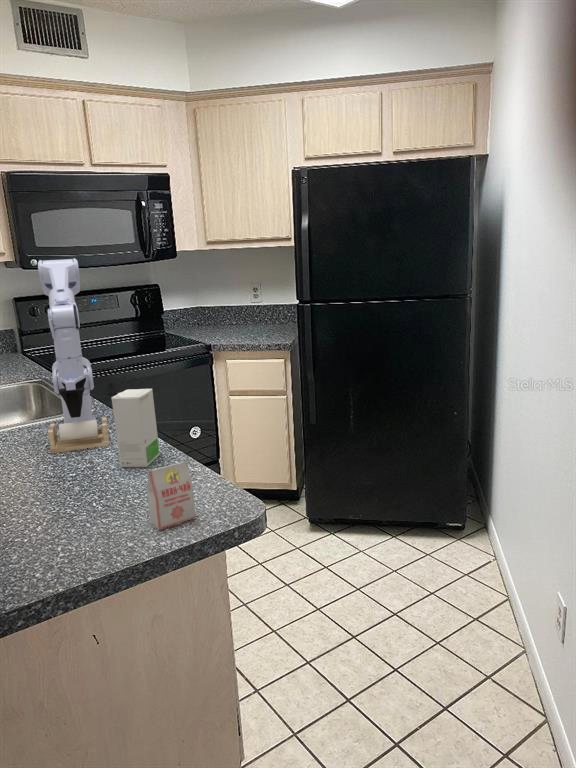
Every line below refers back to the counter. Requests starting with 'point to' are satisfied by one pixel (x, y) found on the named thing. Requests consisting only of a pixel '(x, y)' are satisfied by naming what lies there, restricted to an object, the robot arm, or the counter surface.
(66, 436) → the paper roll
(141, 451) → the skincare box
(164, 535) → the counter surface
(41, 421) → the counter surface
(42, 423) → the counter surface
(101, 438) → the holder
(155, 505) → the tea bag
